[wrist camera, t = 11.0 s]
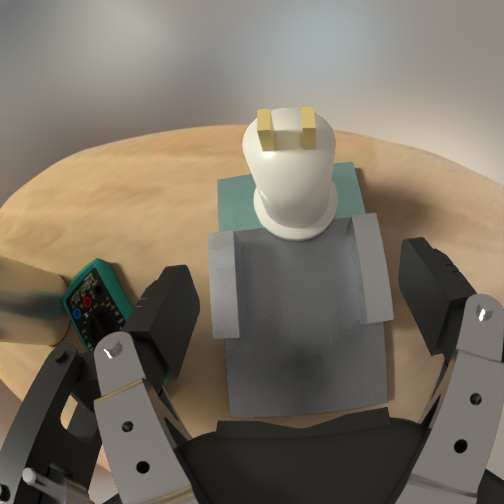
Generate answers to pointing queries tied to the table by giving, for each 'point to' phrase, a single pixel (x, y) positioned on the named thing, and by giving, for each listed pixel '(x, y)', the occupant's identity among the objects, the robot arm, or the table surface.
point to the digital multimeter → (96, 304)
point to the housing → (300, 306)
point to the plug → (292, 172)
